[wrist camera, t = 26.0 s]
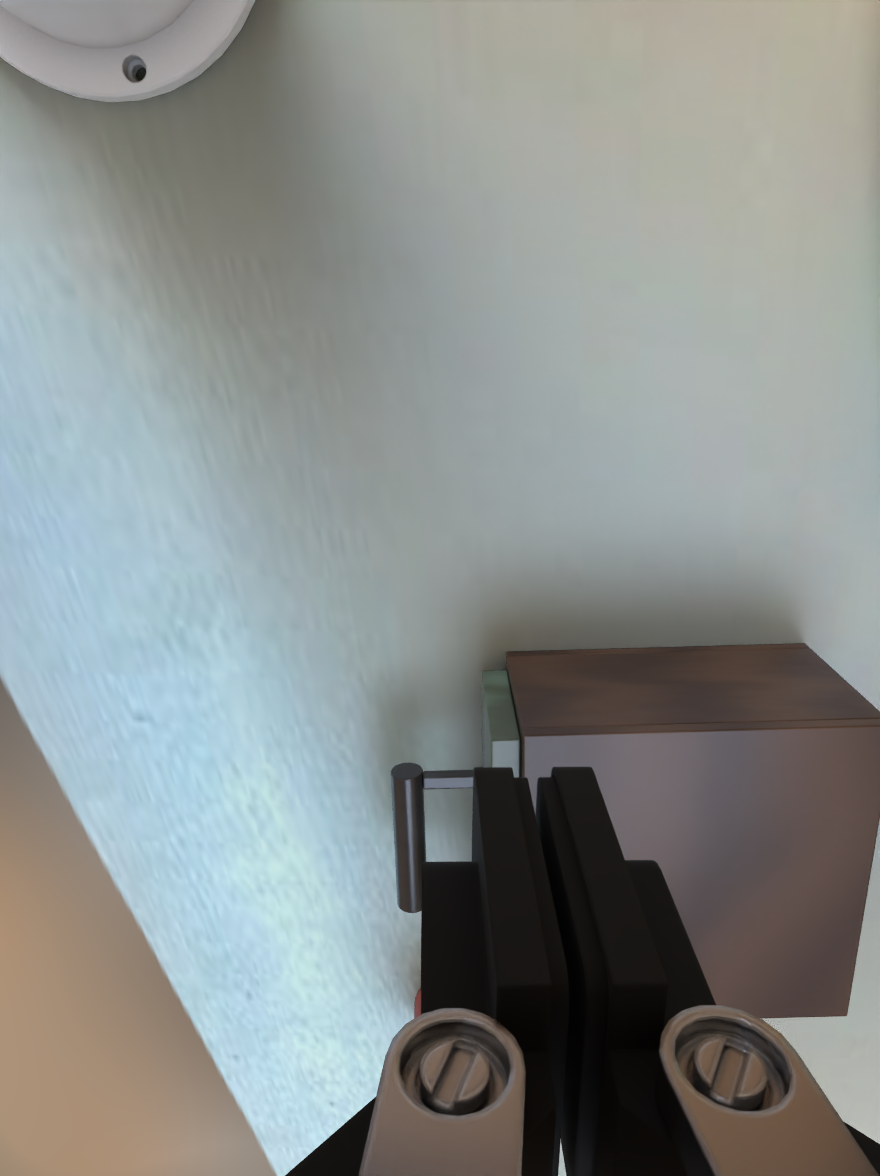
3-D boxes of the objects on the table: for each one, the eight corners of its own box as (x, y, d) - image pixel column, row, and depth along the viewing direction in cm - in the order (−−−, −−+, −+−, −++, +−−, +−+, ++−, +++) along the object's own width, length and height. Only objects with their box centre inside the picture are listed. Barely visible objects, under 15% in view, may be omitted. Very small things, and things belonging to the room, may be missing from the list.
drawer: (402, 902, 43) (397, 1003, 37) (391, 672, 39) (383, 742, 33) (741, 893, 43) (793, 992, 37) (766, 662, 39) (829, 730, 33)
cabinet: (505, 899, 44) (521, 1025, 36) (505, 651, 40) (522, 735, 32) (774, 891, 44) (847, 1016, 36) (805, 642, 40) (895, 725, 32)
